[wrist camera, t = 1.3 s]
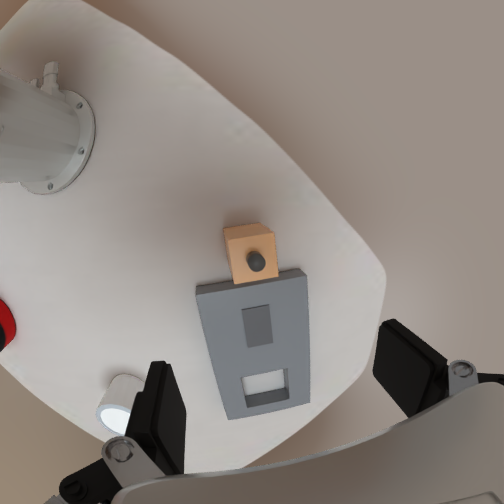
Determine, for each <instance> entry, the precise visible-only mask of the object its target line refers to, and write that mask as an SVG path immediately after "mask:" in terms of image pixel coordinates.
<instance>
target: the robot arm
mask: <svg viewBox="0 0 504 504" xmlns="http://www.w3.org/2000/svg"><path fill="white" fill-rule="evenodd" d="M58 66H59V63H58V62H56V61H52V62H49V63H47V64H45V66H44V72H43V85H42V86H41V87H40V89H39V81H40V80H39V79H33V80H31V81H30V83H28V82H26V81H24V80H22V79H20V78H18V77H16V76H14V75H12V74H10V73H8V72H6V71H4V70H2V69H0V183H11V182H20V183H21V185H22V186H23V187H24V188H25V189H27V190H28V191H30V192H32V193H34V194H41V195H44V194H51V193H55V192H58V191H60V190H62V189H64V188H65V187H66V186H68V185H69V184H70V183H71V182H72V181H73V180H74V179H75V178H76V177H77V176H78V175H79V173H80V172H81V170H82V169H83V167H84V166H85V164H86V162H87V160H88V158H89V155H90V152H91V149H92V146H93V141H94V136H95V123H94V116H93V113H92V110H91V107H90V106H89V104H88V103H87V101H86V100H85V99H84V98H83V97H82V96H80V95H79V94H77V93H75V92H73V91H70V90H59V84H58V83H56V80H57V75H58ZM82 106H83V107H82ZM81 107H82V108H81ZM84 150H85V152H84V154H83V151H84ZM373 375H374V377H375V378H376V379H377V381H378V382H379V383H380V384H381V385H382V386H383V388H384V389H385V390H386V391H387V392H388V394H389V395H390V396H391V397H392V399H393V400H394V401H395V402H396V403H397V405H398V406H399V407H400V408H401V409H402V411H403V412H404V413H405V414H406V415H407V417H408V419H406V420H404V421H402V422H400V423H397V424H395V425H393V426H391V427H389V428H386V429H384V430H382V431H379V432H377V433H374V434H372V435H369V436H367V437H364V438H362V439H359V440H356V441H353V442H351V443H348V444H345V445H342V446H339V447H336V448H333V449H329V450H326V451H323V452H319V453H316V454H312V455H308V456H304V457H300V458H296V459H292V460H288V461H283V462H278V463H273V464H268V465H262V466H256V467H249V468H242V469H235V470H226V471H216V472H204V473H192V474H184V453H185V431H186V408H185V405H184V402H183V400H182V397H181V394H180V391H179V388H178V385H177V382H176V379H175V376H174V373H173V370H172V367H171V365H170V364H166V362H165V361H152V362H151V365H150V368H149V371H148V375H147V378H146V382H145V385H144V389H143V391H138V392H137V393H136V396H135V399H134V403H133V406H132V410H131V413H130V417H129V420H128V424H127V427H126V431H125V435H124V436H118V437H114V438H111V439H110V440H108V441H107V442H106V443H105V444H104V445H103V447H102V452H101V454H102V457H103V458H101V459H100V460H98V461H96V462H94V463H92V464H90V465H89V466H87V467H85V468H83V469H81V470H79V471H77V472H75V473H73V474H71V475H69V476H67V477H66V478H64V479H63V480H62V482H61V483H60V486H59V492H60V494H59V495H58V496H57V497H56V496H55V495H53V496H52V497H51V498H50V499H49V500H48V501H46V502H45V503H44V504H504V375H503V374H486V373H477V372H476V368H475V366H474V365H473V364H472V363H470V362H469V361H465V360H456V361H453V362H452V363H450V365H449V366H448V365H447V359H446V358H444V357H443V356H442V355H441V354H440V353H438V352H437V351H436V350H434V349H433V348H432V347H431V346H429V345H428V344H427V343H426V342H424V341H423V340H422V339H420V338H419V337H418V336H416V335H415V334H414V333H413V332H411V331H410V330H409V329H407V328H406V327H405V326H403V325H402V324H401V323H399V322H398V321H397V320H396V319H390V320H387V321H384V322H383V323H382V325H381V326H380V327H379V332H378V340H377V347H376V353H375V360H374V366H373Z"/></svg>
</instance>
